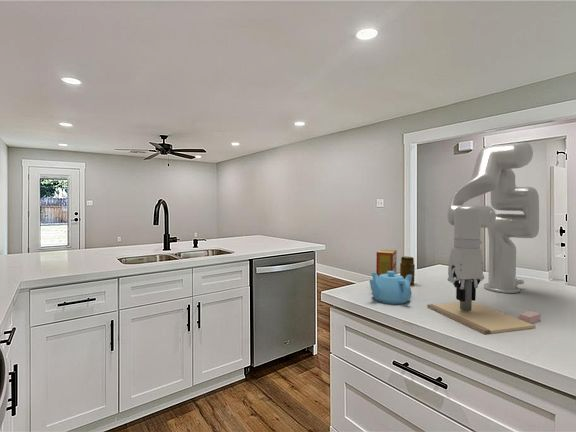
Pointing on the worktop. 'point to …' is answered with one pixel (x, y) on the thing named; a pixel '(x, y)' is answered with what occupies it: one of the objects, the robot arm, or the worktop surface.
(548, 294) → the worktop surface
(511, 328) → the notepad
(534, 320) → the eraser
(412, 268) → the condiment
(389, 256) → the baking soda box
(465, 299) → the marker
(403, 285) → the teapot
